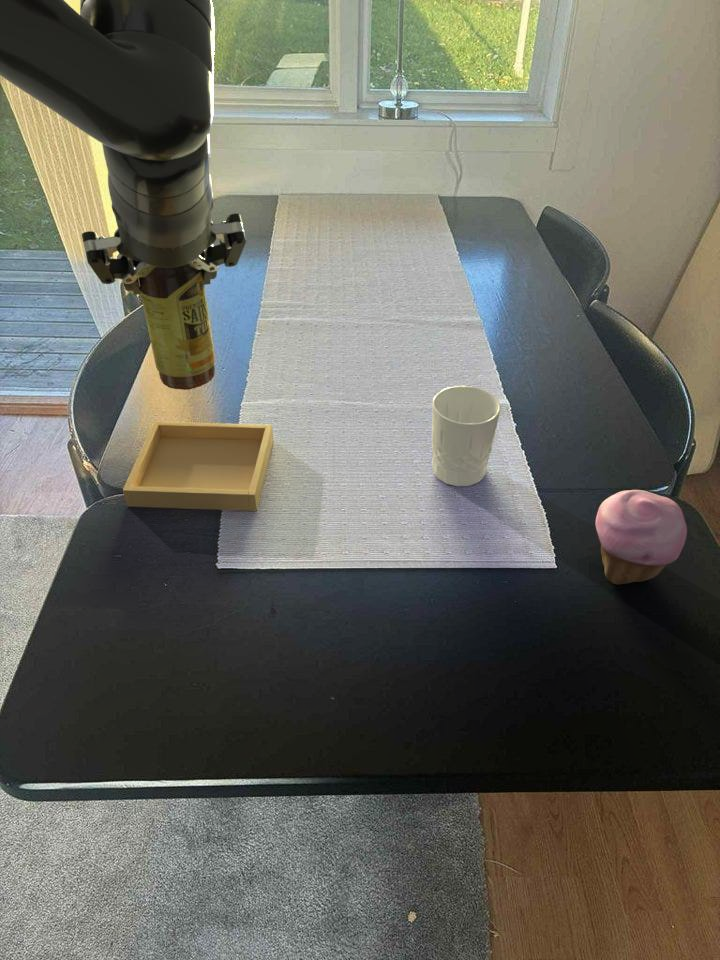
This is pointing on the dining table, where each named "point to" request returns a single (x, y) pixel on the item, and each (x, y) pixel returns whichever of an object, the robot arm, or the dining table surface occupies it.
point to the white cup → (463, 433)
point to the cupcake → (639, 535)
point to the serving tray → (201, 466)
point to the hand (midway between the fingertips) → (170, 280)
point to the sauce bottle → (179, 326)
